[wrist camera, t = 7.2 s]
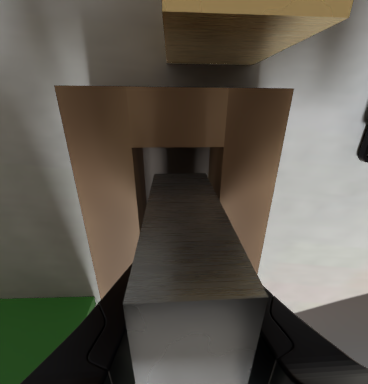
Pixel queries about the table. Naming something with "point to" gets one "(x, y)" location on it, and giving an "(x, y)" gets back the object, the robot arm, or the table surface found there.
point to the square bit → (243, 28)
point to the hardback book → (36, 331)
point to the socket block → (170, 158)
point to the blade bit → (191, 290)
